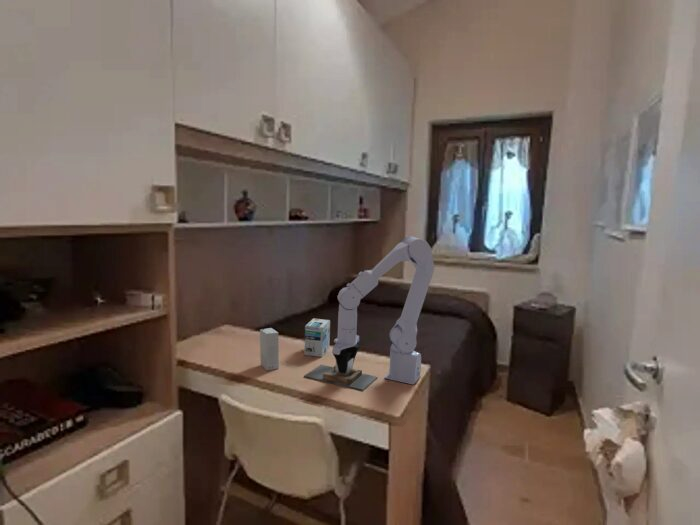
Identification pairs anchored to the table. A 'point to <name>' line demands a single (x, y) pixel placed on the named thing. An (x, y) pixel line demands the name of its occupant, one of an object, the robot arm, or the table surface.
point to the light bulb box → (317, 337)
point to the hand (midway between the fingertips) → (345, 370)
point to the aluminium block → (349, 369)
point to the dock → (341, 377)
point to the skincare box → (269, 349)
